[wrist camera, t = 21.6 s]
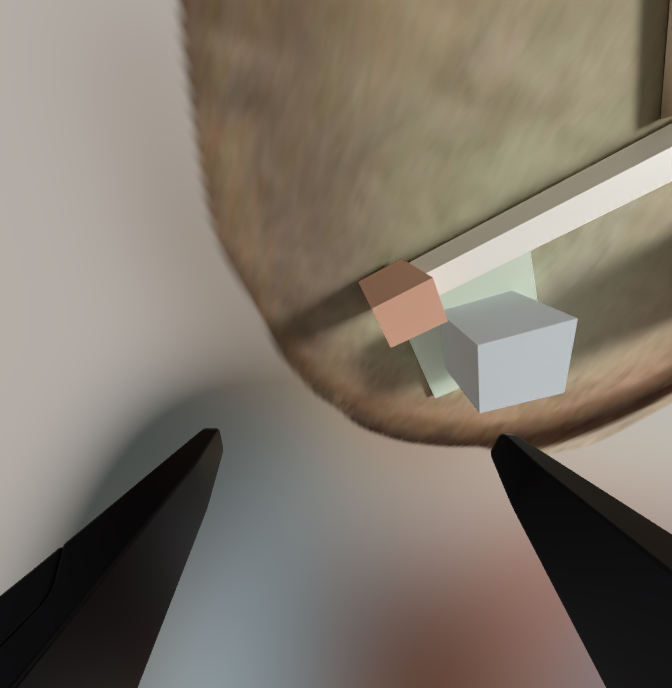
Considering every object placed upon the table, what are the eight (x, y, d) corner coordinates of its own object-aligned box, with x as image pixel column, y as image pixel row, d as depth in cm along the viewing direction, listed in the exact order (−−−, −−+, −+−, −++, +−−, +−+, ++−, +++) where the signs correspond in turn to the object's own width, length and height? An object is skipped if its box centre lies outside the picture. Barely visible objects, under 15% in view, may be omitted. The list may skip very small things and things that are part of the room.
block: (444, 368, 20) (479, 413, 15) (438, 311, 18) (477, 345, 13) (509, 351, 19) (564, 392, 15) (511, 290, 17) (577, 318, 13)
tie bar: (358, 281, 16) (371, 308, 12) (709, 92, 12) (921, 29, 8) (373, 312, 17) (390, 347, 13) (701, 146, 14) (885, 115, 9)
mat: (394, 308, 18) (396, 310, 17) (525, 243, 16) (529, 244, 16) (433, 395, 22) (435, 398, 21) (541, 350, 20) (545, 352, 20)
